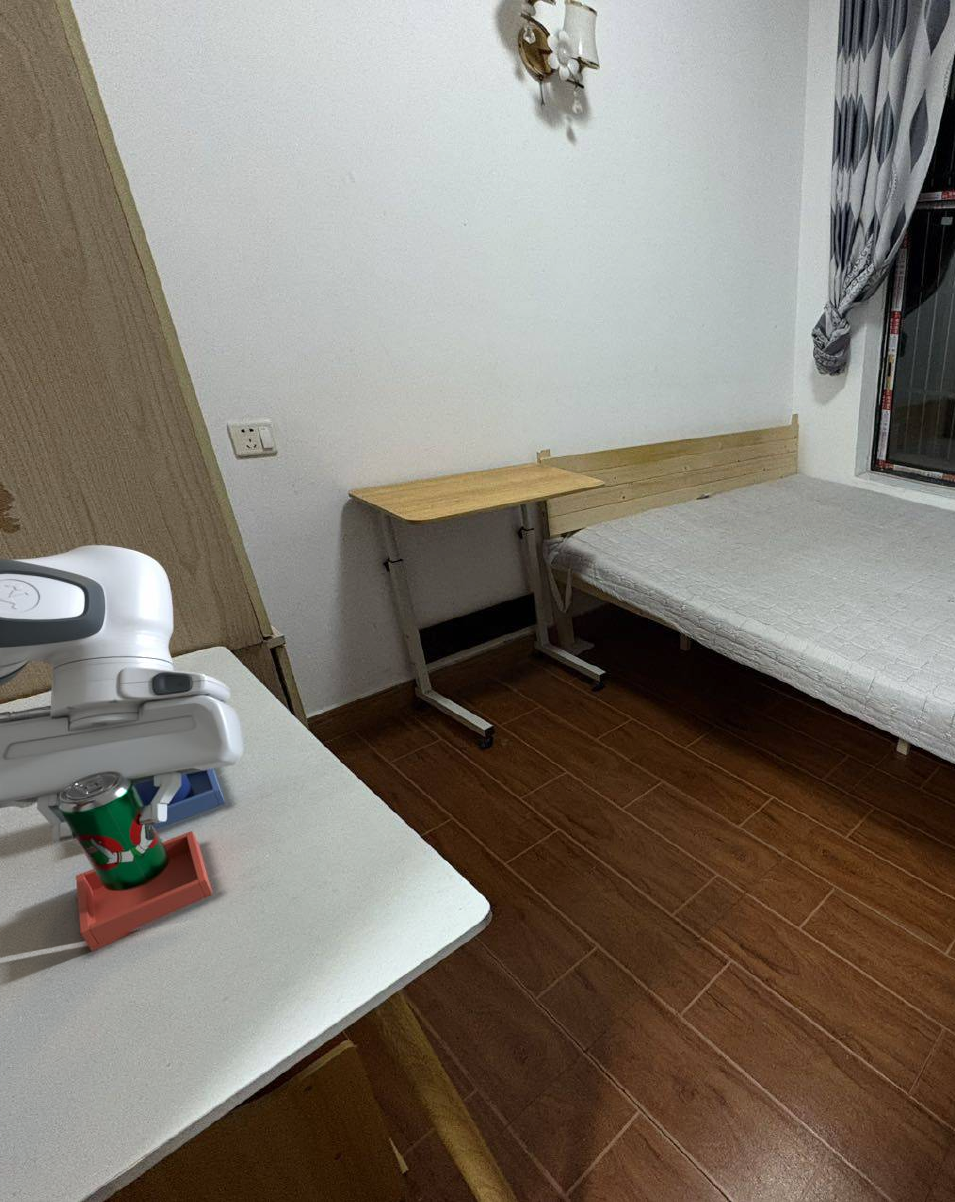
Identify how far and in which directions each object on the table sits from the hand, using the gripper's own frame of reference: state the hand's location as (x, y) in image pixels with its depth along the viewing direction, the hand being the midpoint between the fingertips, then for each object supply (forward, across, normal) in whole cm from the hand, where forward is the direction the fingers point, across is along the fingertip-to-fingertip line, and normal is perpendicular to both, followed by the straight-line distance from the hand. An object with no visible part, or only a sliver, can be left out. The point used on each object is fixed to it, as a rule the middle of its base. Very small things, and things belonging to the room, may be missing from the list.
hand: (112, 832), depth 64 cm
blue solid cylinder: (-5, -2, +18) cm, 19 cm away
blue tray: (-4, -2, +18) cm, 19 cm away
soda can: (+4, 0, +5) cm, 7 cm away
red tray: (+6, 0, +7) cm, 10 cm away
